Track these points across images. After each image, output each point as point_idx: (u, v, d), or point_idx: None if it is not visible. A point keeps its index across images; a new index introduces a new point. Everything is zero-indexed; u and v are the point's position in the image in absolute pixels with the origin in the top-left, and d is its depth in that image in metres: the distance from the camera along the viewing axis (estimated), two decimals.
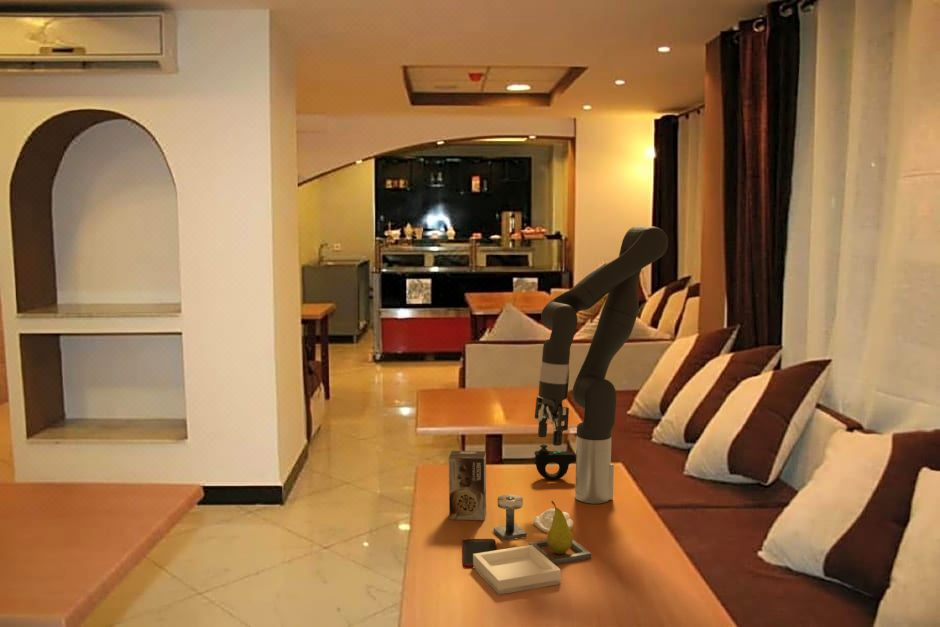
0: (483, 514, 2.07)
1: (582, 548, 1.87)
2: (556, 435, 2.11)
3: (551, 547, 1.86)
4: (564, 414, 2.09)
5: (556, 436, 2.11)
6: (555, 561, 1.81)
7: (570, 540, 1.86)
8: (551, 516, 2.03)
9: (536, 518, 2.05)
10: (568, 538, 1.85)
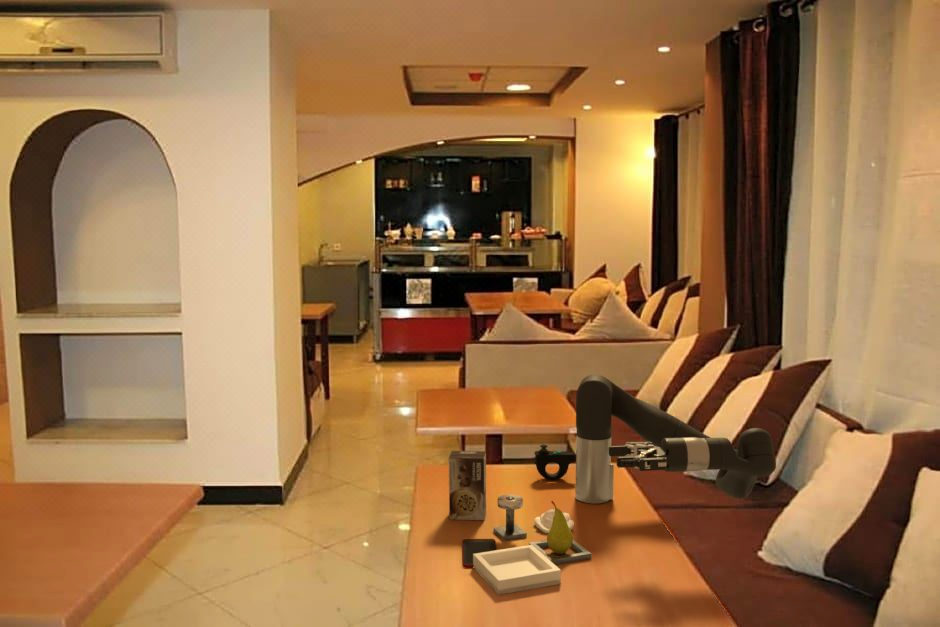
0: (483, 514, 2.07)
1: (582, 548, 1.87)
2: (630, 459, 1.80)
3: (551, 547, 1.86)
4: (659, 465, 1.79)
5: (629, 460, 1.80)
6: (555, 561, 1.81)
7: (570, 540, 1.86)
8: (552, 517, 2.03)
9: (537, 519, 2.04)
10: (568, 538, 1.85)
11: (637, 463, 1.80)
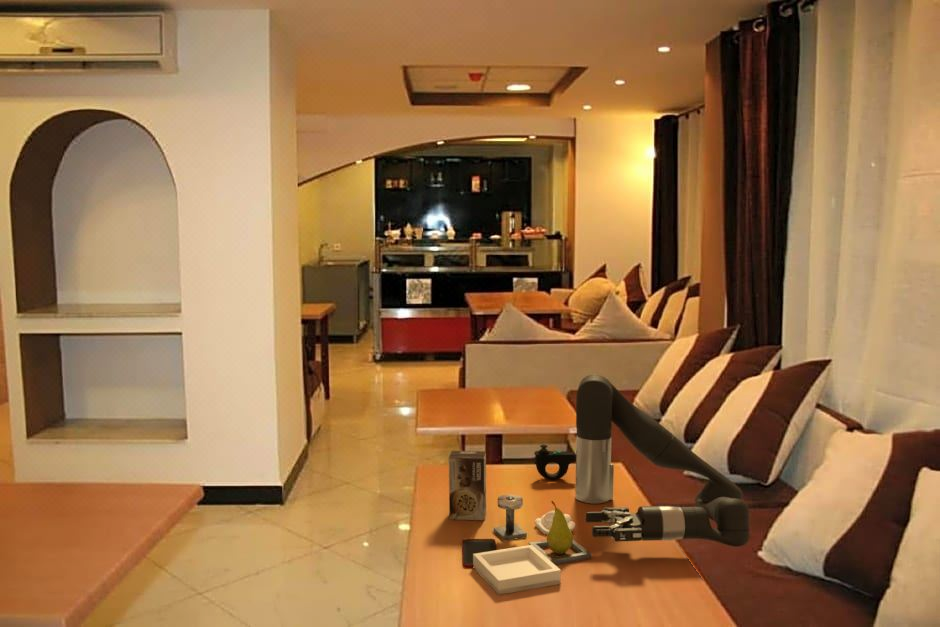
0: (483, 514, 2.07)
1: (582, 548, 1.87)
2: (605, 529, 1.82)
3: (551, 547, 1.86)
4: (633, 535, 1.80)
5: (604, 529, 1.81)
6: (555, 561, 1.81)
7: (570, 540, 1.86)
8: None
9: (538, 520, 2.03)
10: (568, 538, 1.85)
11: (612, 533, 1.81)
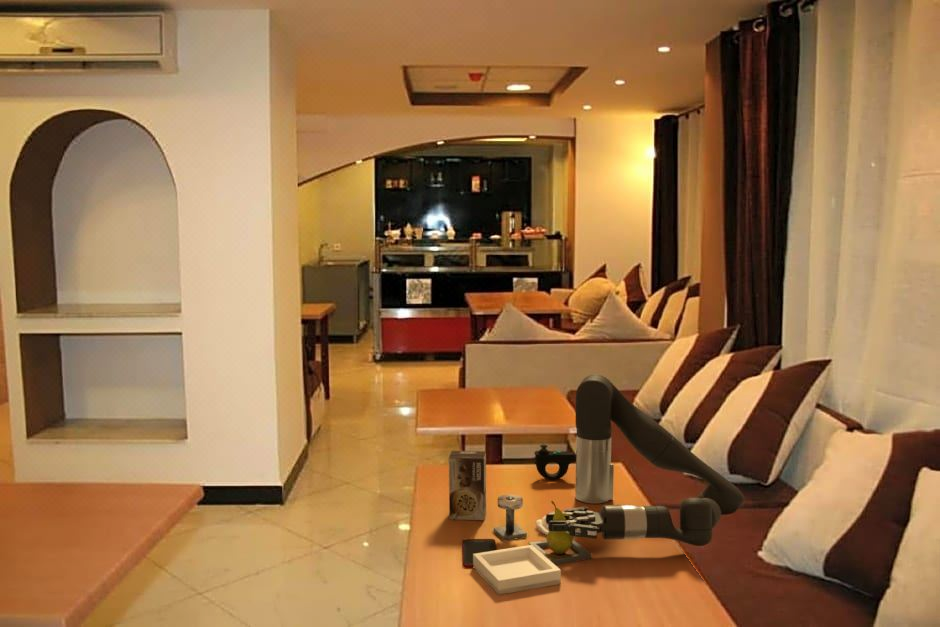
0: (483, 514, 2.07)
1: (582, 548, 1.87)
2: (561, 524, 1.84)
3: (551, 547, 1.86)
4: (588, 533, 1.81)
5: (560, 524, 1.84)
6: (555, 561, 1.81)
7: (570, 540, 1.86)
8: None
9: (538, 521, 2.02)
10: (568, 538, 1.85)
11: (568, 528, 1.83)
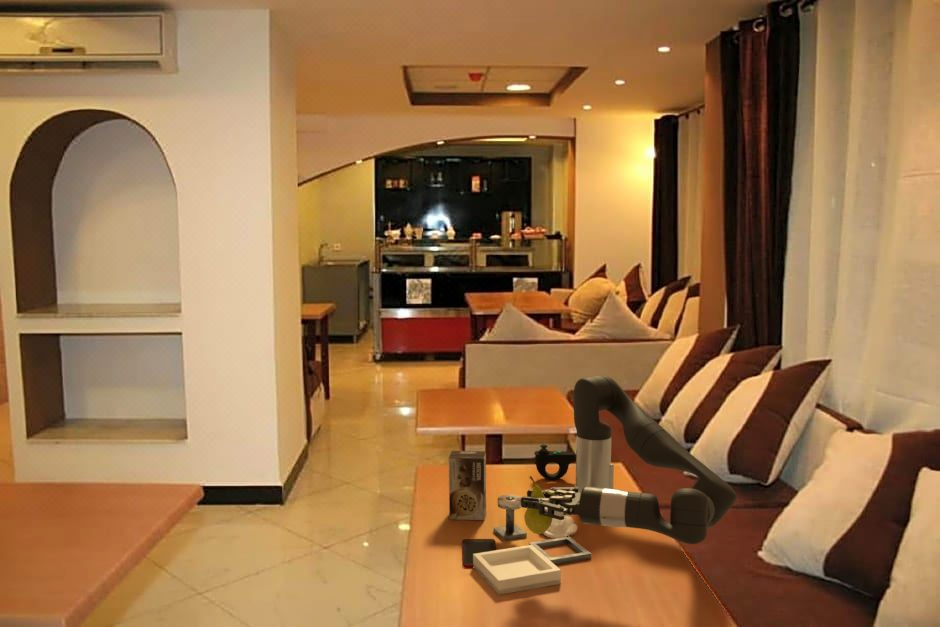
0: (483, 514, 2.07)
1: (582, 548, 1.87)
2: (533, 500, 1.71)
3: (527, 525, 1.74)
4: (554, 513, 1.66)
5: (531, 501, 1.71)
6: (555, 561, 1.81)
7: (546, 519, 1.72)
8: (555, 521, 2.00)
9: None
10: (543, 517, 1.72)
11: (538, 506, 1.70)
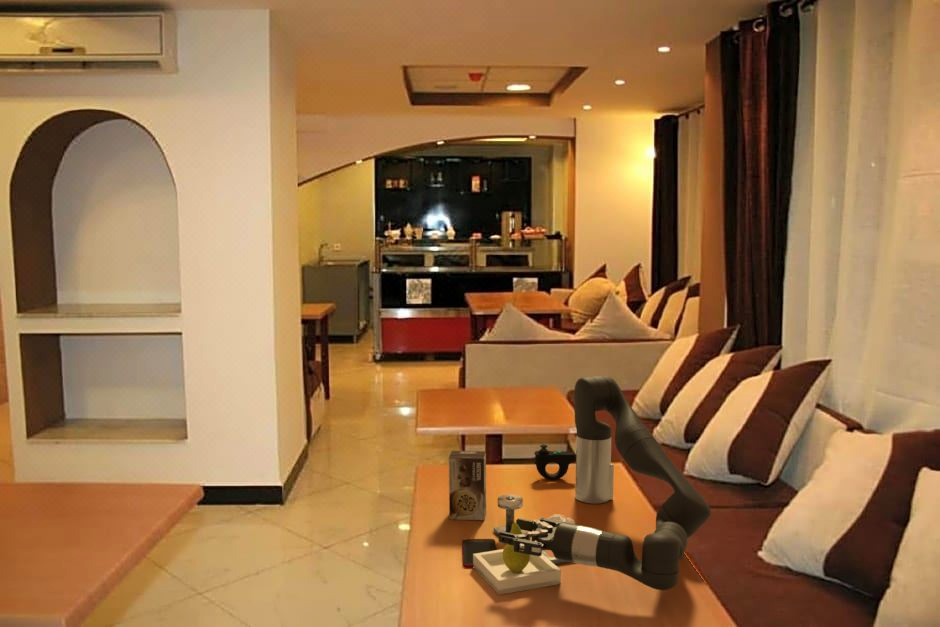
0: (483, 514, 2.07)
1: None
2: (509, 537, 1.70)
3: (504, 562, 1.75)
4: (532, 549, 1.66)
5: (508, 537, 1.70)
6: (555, 561, 1.81)
7: (522, 559, 1.73)
8: None
9: None
10: (519, 556, 1.73)
11: (514, 542, 1.69)
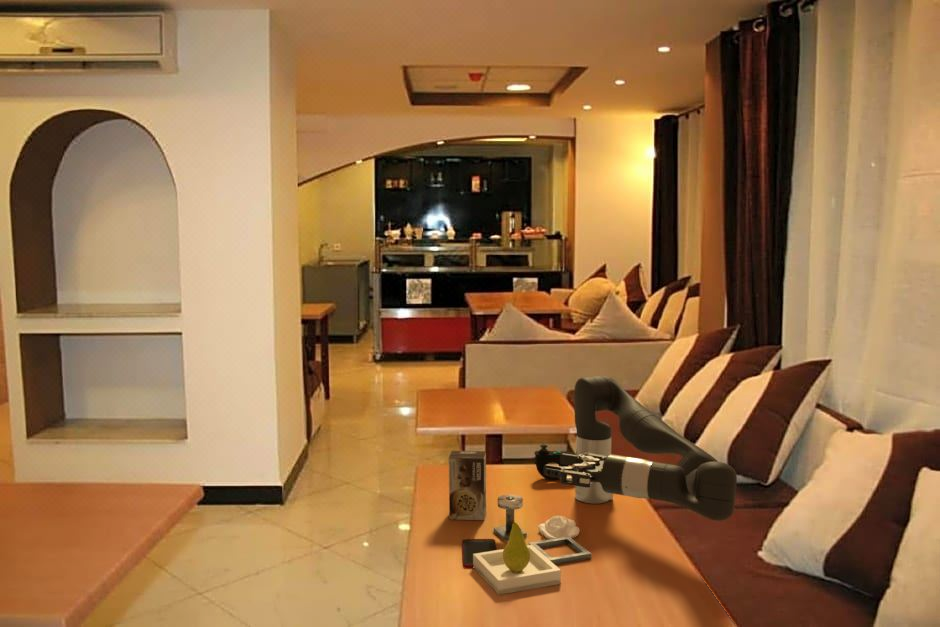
0: (483, 514, 2.07)
1: (582, 548, 1.87)
2: (555, 469, 1.63)
3: (504, 562, 1.75)
4: (580, 480, 1.59)
5: (554, 469, 1.63)
6: (555, 561, 1.81)
7: (522, 559, 1.73)
8: (557, 524, 1.98)
9: (541, 526, 2.00)
10: (519, 556, 1.73)
11: (560, 474, 1.62)
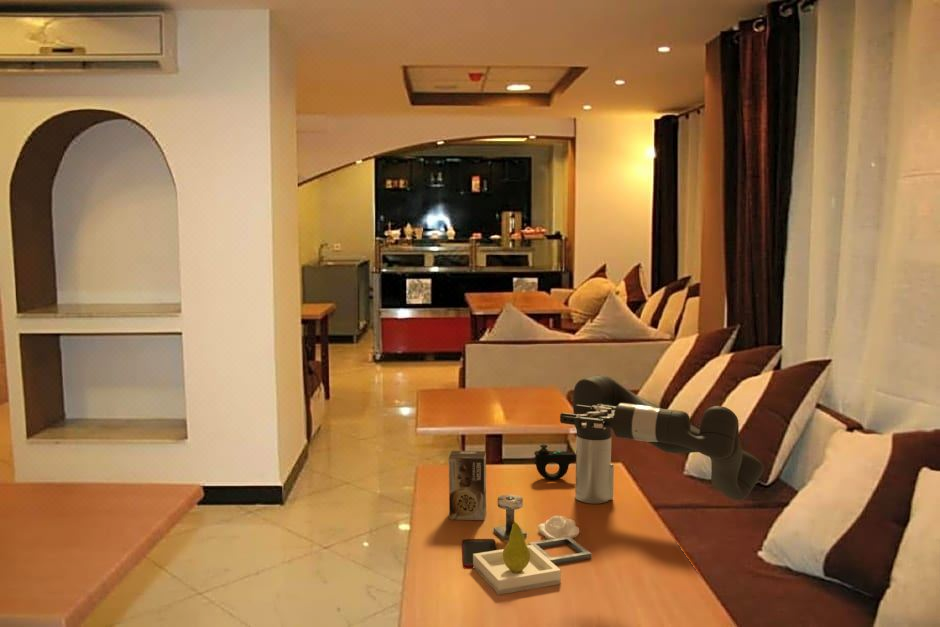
0: (483, 514, 2.07)
1: (582, 548, 1.87)
2: (571, 416, 1.79)
3: (504, 562, 1.75)
4: (594, 425, 1.75)
5: (570, 416, 1.79)
6: (555, 561, 1.81)
7: (522, 559, 1.73)
8: (556, 524, 1.98)
9: (541, 526, 2.00)
10: (519, 556, 1.73)
11: (575, 421, 1.78)
